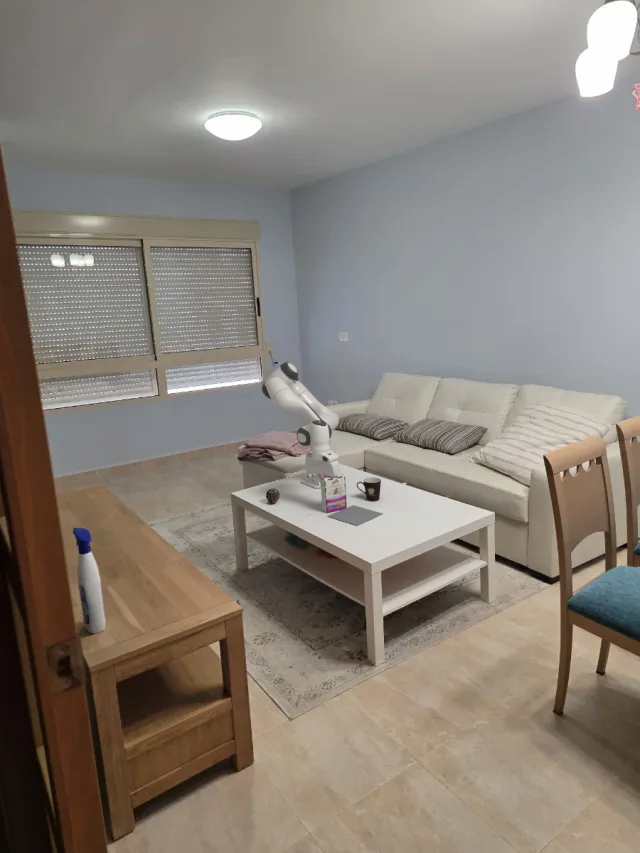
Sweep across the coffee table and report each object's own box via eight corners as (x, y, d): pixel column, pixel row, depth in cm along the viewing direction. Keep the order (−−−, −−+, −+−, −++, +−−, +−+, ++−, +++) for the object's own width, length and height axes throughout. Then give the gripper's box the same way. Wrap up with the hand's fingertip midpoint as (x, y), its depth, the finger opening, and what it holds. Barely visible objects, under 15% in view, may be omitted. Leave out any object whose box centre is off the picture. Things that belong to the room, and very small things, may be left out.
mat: (327, 516, 261) (327, 516, 261) (353, 505, 273) (353, 505, 273) (357, 526, 248) (356, 525, 248) (382, 514, 261) (382, 513, 261)
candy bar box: (341, 505, 275) (340, 473, 271) (347, 508, 270) (345, 475, 267) (321, 510, 270) (319, 477, 266) (326, 513, 265) (324, 480, 262)
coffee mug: (385, 498, 281) (384, 479, 279) (374, 503, 275) (373, 483, 273) (366, 494, 289) (366, 475, 287) (355, 498, 283) (355, 479, 281)
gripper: (301, 452, 274) (302, 480, 277) (331, 459, 260) (333, 488, 263) (310, 450, 279) (311, 477, 282) (341, 456, 264) (342, 484, 267)
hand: (322, 482), depth 272 cm, fingers closed
